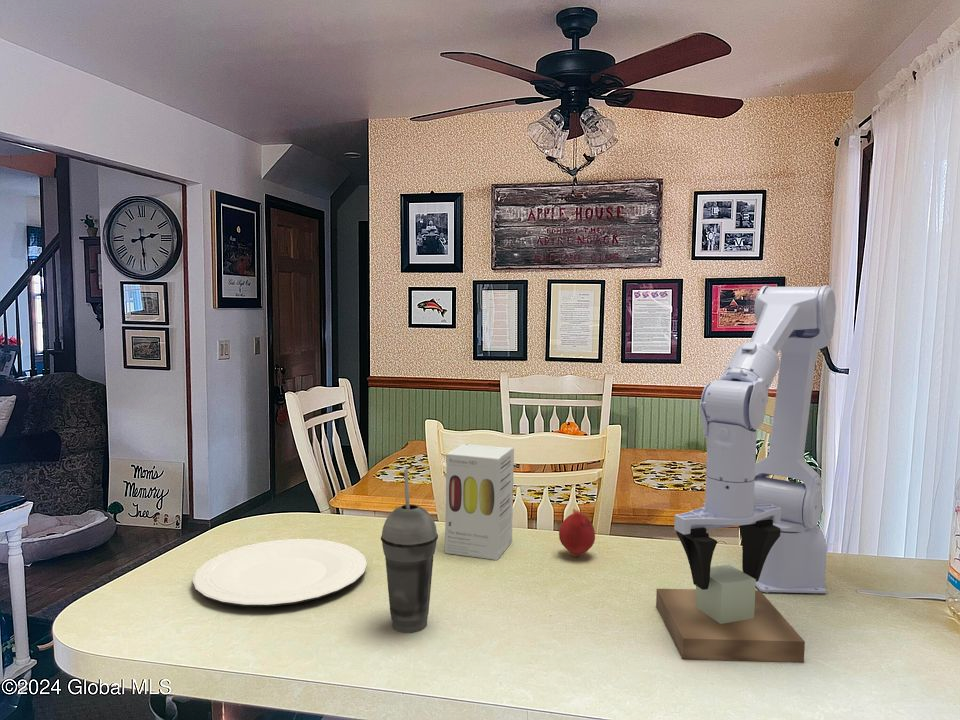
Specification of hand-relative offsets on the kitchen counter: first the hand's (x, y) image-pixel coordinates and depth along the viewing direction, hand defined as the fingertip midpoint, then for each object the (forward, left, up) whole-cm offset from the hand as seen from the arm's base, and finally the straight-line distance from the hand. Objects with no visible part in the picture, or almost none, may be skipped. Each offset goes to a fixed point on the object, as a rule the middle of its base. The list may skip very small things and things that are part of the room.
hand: (726, 582), depth 87 cm
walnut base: (0, 0, -6) cm, 6 cm away
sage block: (0, 0, -4) cm, 4 cm away
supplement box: (+32, -28, -7) cm, 43 cm away
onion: (+16, -25, -7) cm, 30 cm away
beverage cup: (+40, 0, -7) cm, 41 cm away
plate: (+61, -14, -7) cm, 63 cm away
